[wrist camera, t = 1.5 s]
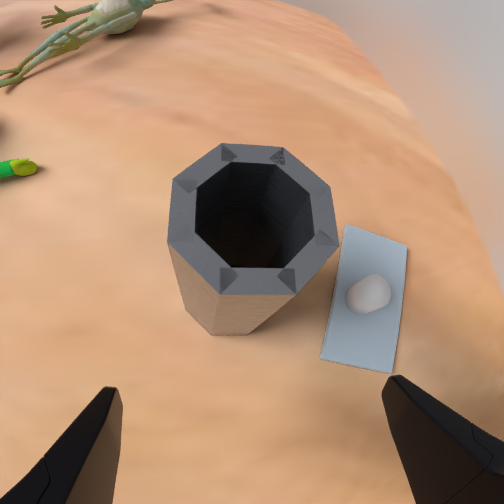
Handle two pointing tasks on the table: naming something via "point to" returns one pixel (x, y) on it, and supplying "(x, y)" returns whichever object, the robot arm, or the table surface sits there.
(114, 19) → the toy
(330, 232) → the sleeve
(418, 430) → the robot arm
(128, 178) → the table surface
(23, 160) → the toy
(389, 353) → the pedestal
